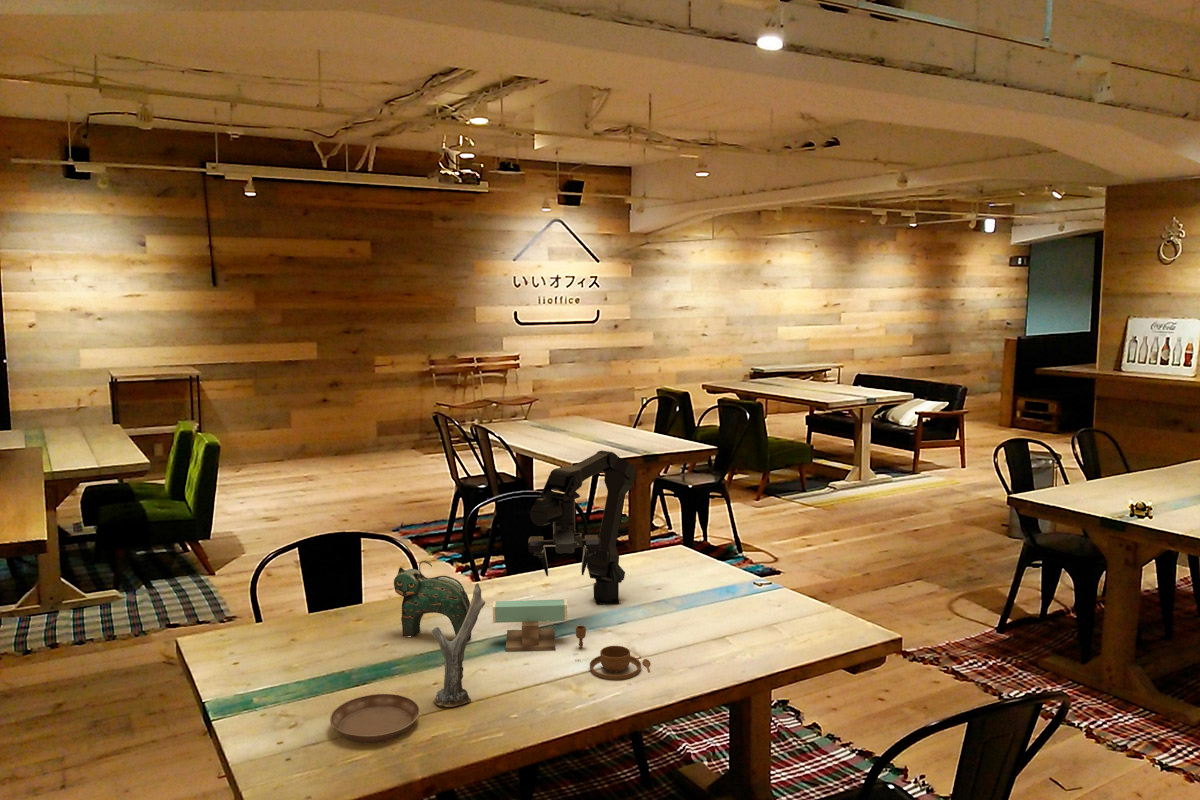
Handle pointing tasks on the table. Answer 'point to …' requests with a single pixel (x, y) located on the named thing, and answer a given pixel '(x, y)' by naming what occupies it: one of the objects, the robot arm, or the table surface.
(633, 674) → the place setting
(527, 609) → the bar
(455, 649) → the bare tree trunk
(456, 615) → the ceramic cat
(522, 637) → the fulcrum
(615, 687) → the table surface
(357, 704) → the plant saucer
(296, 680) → the table surface
